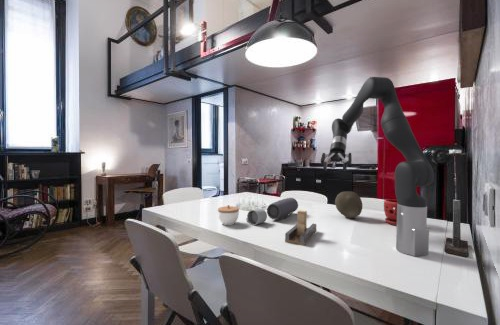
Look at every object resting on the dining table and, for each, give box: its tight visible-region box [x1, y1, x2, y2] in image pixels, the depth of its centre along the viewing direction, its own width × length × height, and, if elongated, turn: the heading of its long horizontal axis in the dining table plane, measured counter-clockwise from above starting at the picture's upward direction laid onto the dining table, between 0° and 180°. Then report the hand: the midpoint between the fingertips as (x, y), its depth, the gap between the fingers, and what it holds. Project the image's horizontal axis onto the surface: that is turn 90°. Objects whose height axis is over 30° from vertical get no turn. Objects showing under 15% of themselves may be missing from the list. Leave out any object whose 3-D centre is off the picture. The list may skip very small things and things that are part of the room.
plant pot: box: [383, 199, 397, 227], centre depth 127 cm, size 13×13×12 cm
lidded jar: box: [217, 205, 240, 226], centre depth 126 cm, size 11×11×9 cm
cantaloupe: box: [334, 190, 363, 219], centre depth 139 cm, size 14×14×15 cm
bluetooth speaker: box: [266, 197, 299, 220], centre depth 140 cm, size 23×9×10 cm, turn 145°
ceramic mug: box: [245, 208, 268, 226], centre depth 128 cm, size 11×8×8 cm
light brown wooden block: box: [296, 209, 308, 235], centre depth 107 cm, size 4×3×10 cm
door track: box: [284, 223, 318, 246], centre depth 107 cm, size 20×8×4 cm, turn 152°
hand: (334, 169), depth 118 cm, fingers open, 8 cm apart
